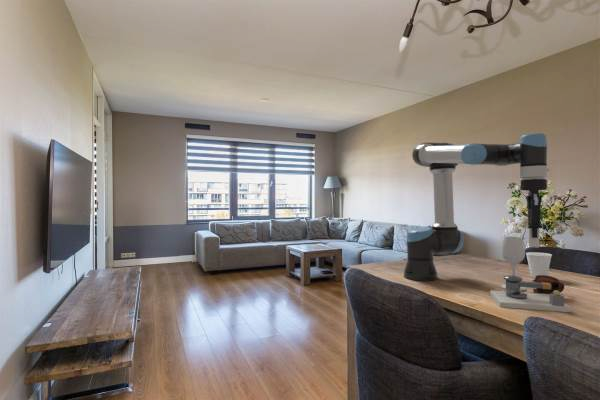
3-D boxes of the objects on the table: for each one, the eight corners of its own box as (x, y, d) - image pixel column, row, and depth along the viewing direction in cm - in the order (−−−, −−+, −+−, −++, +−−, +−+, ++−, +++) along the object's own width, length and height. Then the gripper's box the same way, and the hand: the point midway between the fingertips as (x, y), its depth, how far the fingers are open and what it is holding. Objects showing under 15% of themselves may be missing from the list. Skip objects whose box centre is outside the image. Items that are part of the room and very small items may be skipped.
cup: (543, 275, 157) (543, 252, 157) (557, 280, 147) (557, 255, 147) (521, 275, 158) (521, 252, 157) (534, 280, 148) (533, 255, 148)
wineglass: (522, 286, 138) (521, 236, 138) (529, 291, 130) (528, 238, 130) (499, 284, 141) (498, 236, 141) (504, 290, 133) (503, 238, 133)
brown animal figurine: (524, 293, 129) (527, 274, 132) (543, 302, 131) (546, 283, 133) (554, 294, 118) (556, 272, 121) (575, 304, 119) (576, 282, 122)
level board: (500, 306, 113) (499, 288, 113) (490, 294, 127) (490, 278, 127) (570, 312, 107) (570, 292, 107) (551, 298, 121) (551, 281, 121)
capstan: (505, 297, 117) (505, 278, 117) (502, 292, 123) (502, 274, 123) (553, 301, 112) (552, 281, 112) (547, 296, 118) (547, 277, 118)
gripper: (550, 177, 106) (551, 250, 106) (543, 179, 117) (544, 245, 117) (522, 178, 109) (523, 249, 110) (518, 180, 121) (519, 243, 121)
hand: (534, 246), depth 114 cm, fingers closed
